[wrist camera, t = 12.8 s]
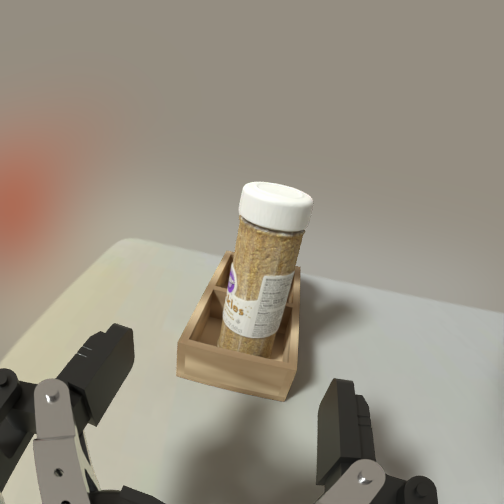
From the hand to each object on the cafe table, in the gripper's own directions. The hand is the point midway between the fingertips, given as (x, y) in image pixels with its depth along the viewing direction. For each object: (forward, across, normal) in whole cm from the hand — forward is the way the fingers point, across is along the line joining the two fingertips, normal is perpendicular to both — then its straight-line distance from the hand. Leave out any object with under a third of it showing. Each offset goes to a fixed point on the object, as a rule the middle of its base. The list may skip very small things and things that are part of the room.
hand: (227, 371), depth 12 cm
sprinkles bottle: (+11, 0, +9) cm, 14 cm away
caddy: (+15, 0, +9) cm, 18 cm away
